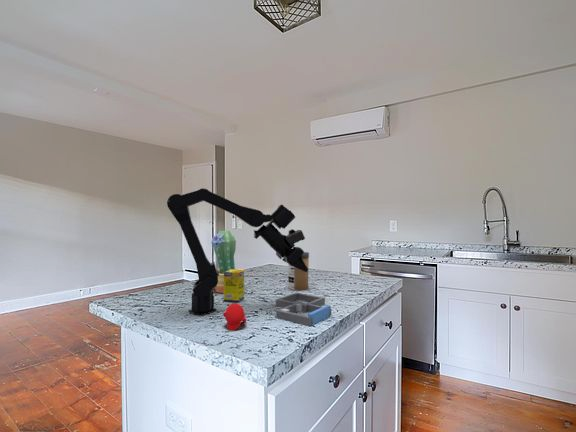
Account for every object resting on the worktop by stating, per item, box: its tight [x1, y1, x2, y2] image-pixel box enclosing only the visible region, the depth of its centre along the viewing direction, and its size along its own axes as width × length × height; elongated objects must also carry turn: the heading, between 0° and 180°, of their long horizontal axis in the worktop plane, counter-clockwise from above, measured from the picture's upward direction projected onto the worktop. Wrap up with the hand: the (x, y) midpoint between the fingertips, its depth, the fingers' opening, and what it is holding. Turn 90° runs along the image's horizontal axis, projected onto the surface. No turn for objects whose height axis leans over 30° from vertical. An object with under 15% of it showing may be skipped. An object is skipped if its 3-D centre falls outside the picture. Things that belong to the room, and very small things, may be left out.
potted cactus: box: [211, 230, 243, 294], centre depth 132 cm, size 15×15×25 cm
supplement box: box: [223, 269, 245, 304], centre depth 116 cm, size 6×6×11 cm
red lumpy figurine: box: [223, 302, 247, 332], centre depth 89 cm, size 8×6×6 cm
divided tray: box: [275, 292, 332, 327], centre depth 104 cm, size 22×20×3 cm
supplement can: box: [287, 263, 296, 291], centre depth 136 cm, size 8×8×15 cm
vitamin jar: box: [294, 251, 310, 291], centre depth 110 cm, size 5×5×13 cm
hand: (305, 269), depth 110 cm, fingers closed on vitamin jar, 5 cm apart
